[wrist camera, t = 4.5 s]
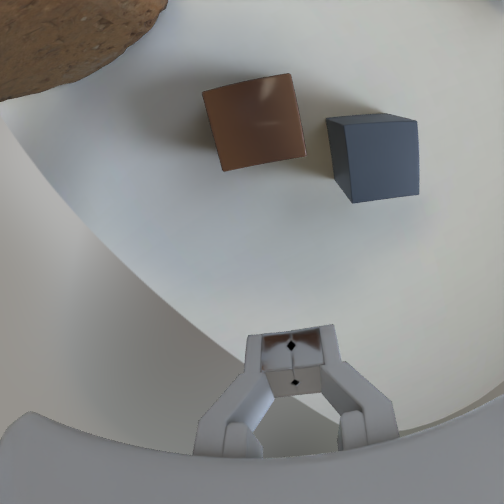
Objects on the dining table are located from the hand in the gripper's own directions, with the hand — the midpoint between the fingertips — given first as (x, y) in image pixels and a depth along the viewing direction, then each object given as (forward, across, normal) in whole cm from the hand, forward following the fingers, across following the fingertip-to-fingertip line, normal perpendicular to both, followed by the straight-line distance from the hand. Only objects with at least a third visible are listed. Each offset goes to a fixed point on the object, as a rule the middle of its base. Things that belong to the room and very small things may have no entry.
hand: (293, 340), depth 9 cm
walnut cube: (+12, 0, -7) cm, 14 cm away
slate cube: (+12, -6, -4) cm, 14 cm away
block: (+12, +9, -17) cm, 23 cm away
